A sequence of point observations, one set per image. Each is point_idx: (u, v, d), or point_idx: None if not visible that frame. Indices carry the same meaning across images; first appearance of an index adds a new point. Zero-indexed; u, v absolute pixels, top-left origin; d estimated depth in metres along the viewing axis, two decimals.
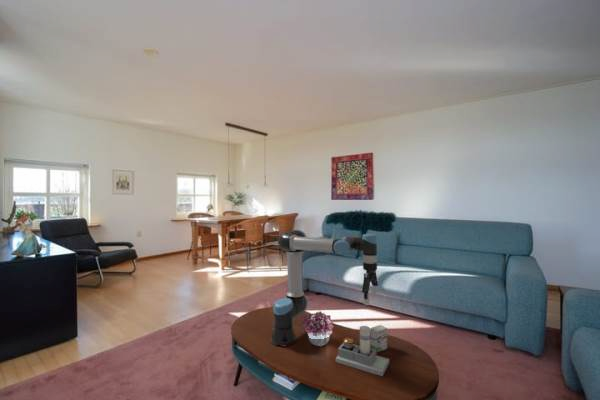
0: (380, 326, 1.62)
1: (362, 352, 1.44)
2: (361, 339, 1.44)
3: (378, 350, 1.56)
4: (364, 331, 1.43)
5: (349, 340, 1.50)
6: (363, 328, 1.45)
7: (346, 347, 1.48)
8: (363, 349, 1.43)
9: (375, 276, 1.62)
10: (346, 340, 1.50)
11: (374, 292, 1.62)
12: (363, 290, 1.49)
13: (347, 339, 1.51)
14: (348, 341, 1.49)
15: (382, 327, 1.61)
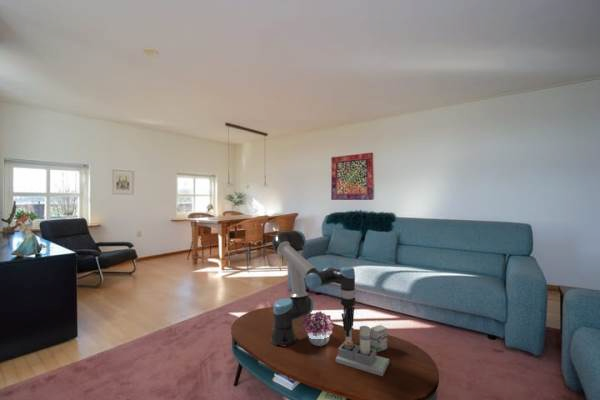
0: (380, 326, 1.62)
1: (362, 352, 1.44)
2: (361, 339, 1.44)
3: (378, 350, 1.56)
4: (364, 331, 1.43)
5: None
6: (363, 328, 1.45)
7: (346, 349, 1.48)
8: (363, 349, 1.43)
9: (352, 315, 1.53)
10: (346, 342, 1.50)
11: None
12: (344, 329, 1.47)
13: None
14: (348, 343, 1.49)
15: (382, 327, 1.61)
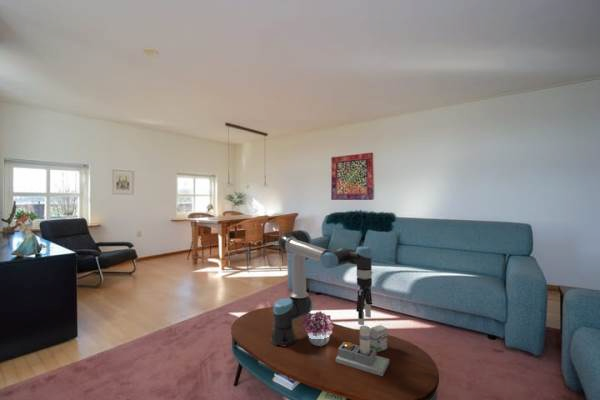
0: (380, 326, 1.62)
1: (362, 352, 1.44)
2: (361, 339, 1.44)
3: (378, 350, 1.56)
4: (364, 331, 1.43)
5: (349, 344, 1.50)
6: (363, 328, 1.45)
7: None
8: (363, 349, 1.43)
9: (370, 293, 1.51)
10: (346, 344, 1.50)
11: (368, 311, 1.50)
12: (357, 309, 1.39)
13: (347, 343, 1.51)
14: (348, 345, 1.49)
15: (382, 327, 1.61)
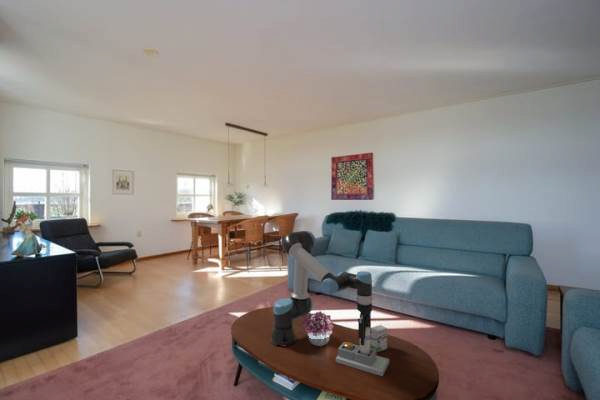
0: (380, 326, 1.62)
1: (362, 352, 1.44)
2: None
3: (378, 350, 1.56)
4: None
5: (349, 344, 1.50)
6: None
7: None
8: None
9: (369, 320, 1.50)
10: (346, 344, 1.50)
11: None
12: (359, 337, 1.41)
13: (347, 343, 1.51)
14: (348, 345, 1.49)
15: (382, 327, 1.61)
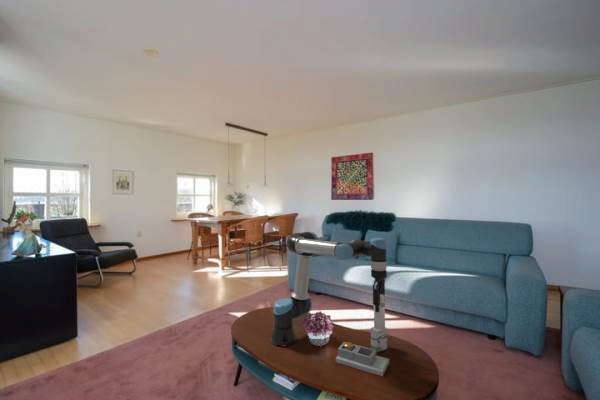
0: None
1: (377, 319, 1.40)
2: None
3: (378, 350, 1.56)
4: None
5: (349, 344, 1.50)
6: None
7: None
8: None
9: (383, 287, 1.46)
10: (346, 344, 1.50)
11: None
12: (374, 303, 1.37)
13: (347, 343, 1.51)
14: (348, 345, 1.49)
15: None
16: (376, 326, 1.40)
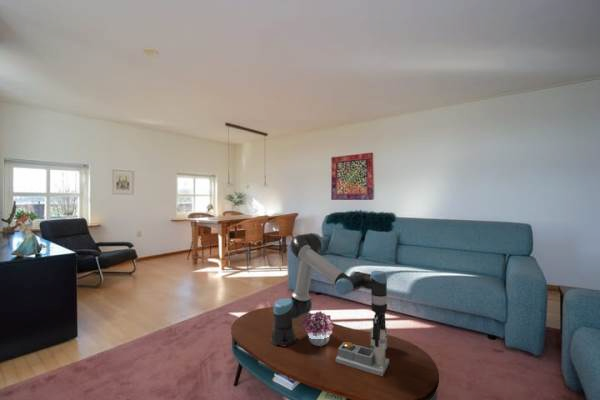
0: None
1: (377, 356, 1.40)
2: None
3: None
4: None
5: (349, 344, 1.50)
6: None
7: None
8: None
9: (384, 319, 1.46)
10: (346, 344, 1.50)
11: None
12: (374, 338, 1.36)
13: (347, 343, 1.51)
14: (348, 345, 1.49)
15: None
16: (376, 362, 1.40)
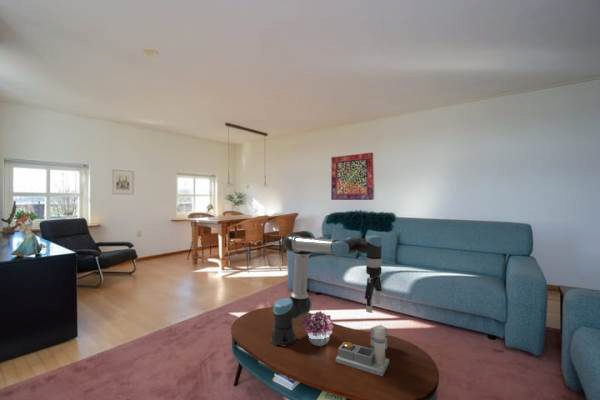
0: (380, 326, 1.62)
1: (377, 356, 1.40)
2: (376, 342, 1.40)
3: None
4: (379, 334, 1.39)
5: (349, 344, 1.50)
6: (378, 331, 1.41)
7: None
8: (378, 352, 1.40)
9: (379, 281, 1.50)
10: (346, 344, 1.50)
11: (377, 298, 1.50)
12: (366, 296, 1.37)
13: (347, 343, 1.51)
14: (348, 345, 1.49)
15: (382, 327, 1.61)
16: (376, 362, 1.40)
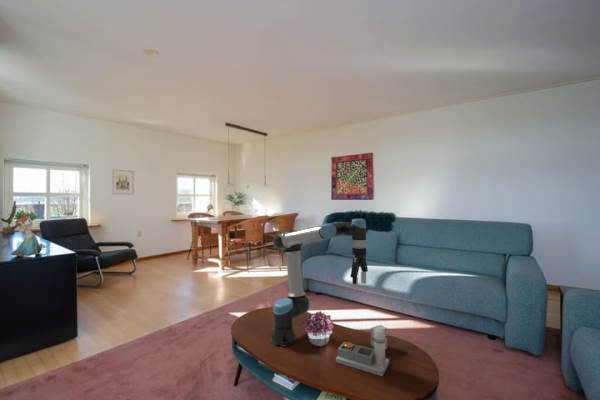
0: (380, 326, 1.62)
1: (377, 356, 1.40)
2: (376, 342, 1.40)
3: None
4: (379, 334, 1.39)
5: (349, 344, 1.50)
6: (378, 331, 1.41)
7: None
8: (378, 352, 1.40)
9: (365, 262, 1.60)
10: (346, 344, 1.50)
11: (364, 278, 1.60)
12: (352, 275, 1.46)
13: (347, 343, 1.51)
14: (348, 345, 1.49)
15: (382, 327, 1.61)
16: (376, 362, 1.40)
